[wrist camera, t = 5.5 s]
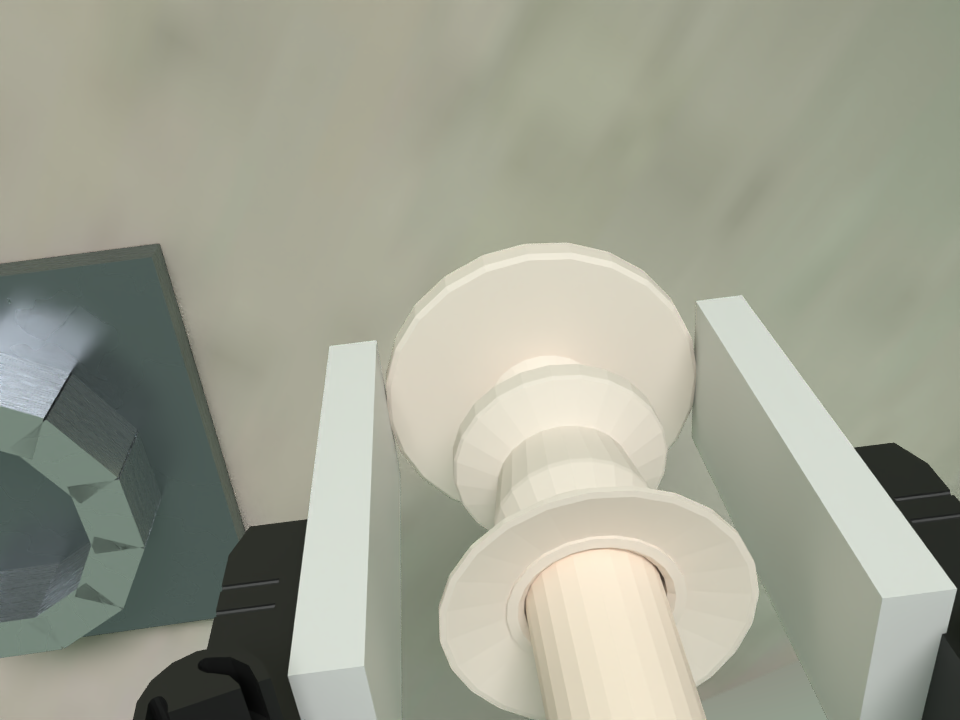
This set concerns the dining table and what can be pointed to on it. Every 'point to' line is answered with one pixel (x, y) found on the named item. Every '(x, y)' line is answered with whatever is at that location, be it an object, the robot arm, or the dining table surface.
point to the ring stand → (104, 455)
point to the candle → (568, 487)
